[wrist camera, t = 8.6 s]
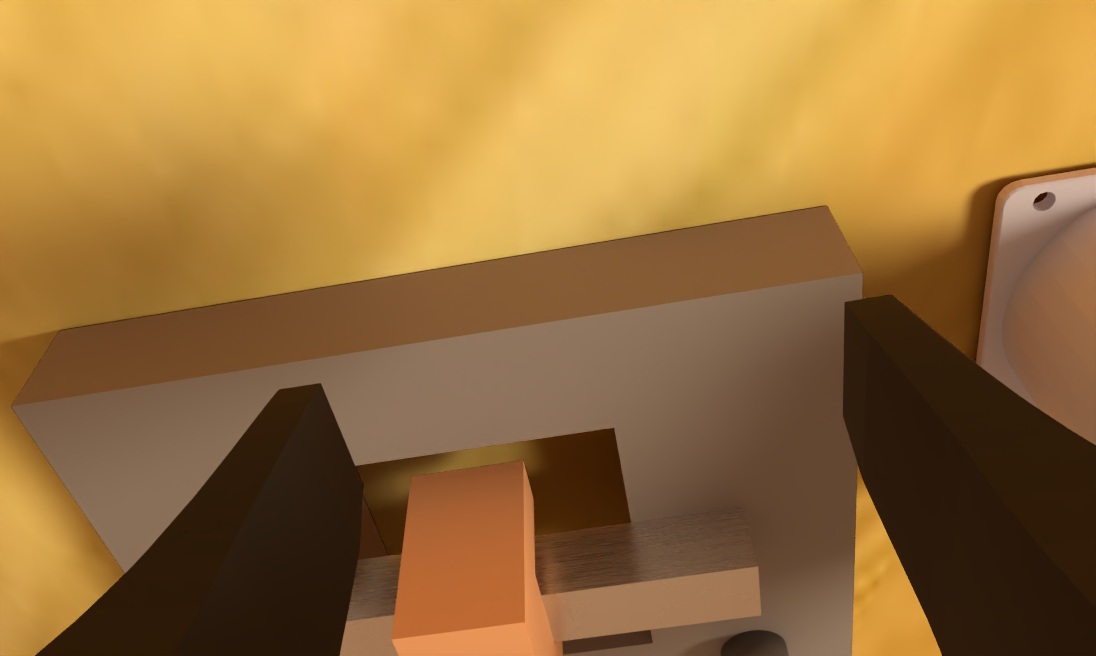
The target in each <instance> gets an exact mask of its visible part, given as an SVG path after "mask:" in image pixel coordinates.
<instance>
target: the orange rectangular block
mask: <svg viewBox="0 0 1096 656" xmlns="http://www.w3.org/2000/svg"><path fill="white" fill-rule="evenodd" d="M391 640H392V642H393V644H394V646H395V649H396V651H397V653H398V655H399V656H563V646H562V641H559V642H554V640H553V636H552V633H551V629H550V625H549V622H548V618H547V615H546V611H545V608H544V604H543V600H542V597H541V593H540V590H539V586H538V582H537V579H536V575H535V543H534V499H533V495H532V492H531V488H530V484H529V480H528V476H527V472H526V469H525V465H524V461H523V460H522V461H515V462H508V463H501V464H494V465H487V466H480V467H473V468H466V469H459V470H452V471H445V472H438V473H431V474H424V475H417V476H411V482H410V491H409V499H408V507H407V515H406V524H405V532H404V540H403V548H402V557H401V565H400V573H399V581H398V590H397V598H396V606H395V614H394V623H393V631H392V639H391Z"/></svg>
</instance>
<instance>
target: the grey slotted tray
mask: <svg viewBox="0 0 1096 656" xmlns="http://www.w3.org/2000/svg"><path fill="white" fill-rule="evenodd" d="M862 290H863V272H862V270H861V268H860V266H859V264H858V263H857V261H856V259H855V257H854V255H853V253H852V251H851V249H850V247H849V246H848V244H847V242H846V240H845V238H844V236H843V234H842V232H841V231H840V229H839V227H838V225H837V223H836V221H835V219H834V217H833V216H832V214H831V212H830V210H829V208H828V206H822V207H816V208H810V209H804V210H797V211H791V212H785V213H779V214H773V215H767V216H761V217H755V218H748V219H742V220H736V221H730V222H724V223H718V224H712V225H705V226H699V227H693V228H687V229H681V230H675V231H669V232H663V233H656V234H650V235H644V236H638V237H632V238H626V239H620V240H613V241H607V242H601V243H595V244H589V245H583V246H577V247H571V248H564V249H558V250H552V251H546V252H540V253H534V254H528V255H521V256H515V257H509V258H503V259H497V260H491V261H485V262H478V263H472V264H466V265H460V266H454V267H448V268H442V269H436V270H429V271H423V272H417V273H411V274H405V275H399V276H393V277H386V278H380V279H374V280H368V281H362V282H356V283H350V284H344V285H337V286H331V287H325V288H319V289H313V290H307V291H301V292H294V293H288V294H282V295H276V296H270V297H264V298H258V299H252V300H245V301H239V302H233V303H227V304H221V305H215V306H209V307H202V308H196V309H190V310H184V311H178V312H172V313H166V314H160V315H153V316H147V317H141V318H135V319H129V320H123V321H117V322H110V323H104V324H98V325H92V326H86V327H80V328H74V329H67V330H61V331H59V332H58V333H57V335H56V337H55V338H54V340H53V341H52V343H51V344H50V346H49V347H48V349H47V351H46V352H45V354H44V355H43V357H42V358H41V360H40V361H39V363H38V365H37V366H36V368H35V369H34V371H33V372H32V374H31V376H30V377H29V379H28V380H27V382H26V383H25V385H24V386H23V388H22V390H21V391H20V393H19V394H18V396H17V397H16V399H15V401H14V402H13V404H12V405H11V408H12V409H13V411H14V412H15V414H16V415H17V417H18V418H19V420H20V421H21V423H22V424H23V425H24V427H25V428H26V430H27V431H28V433H29V434H30V436H31V437H32V439H33V440H34V442H35V443H36V444H37V446H38V447H39V449H40V450H41V452H42V453H43V455H44V456H45V458H46V459H47V461H48V462H49V463H50V465H51V466H52V468H53V469H54V471H55V472H56V474H57V475H58V477H59V478H60V480H61V481H62V482H63V484H64V485H65V487H66V488H67V490H68V491H69V493H70V494H71V496H72V497H73V499H74V500H75V501H76V503H77V504H78V506H79V507H80V509H81V510H82V512H83V513H84V515H85V516H86V518H87V519H88V520H89V522H90V523H91V525H92V526H93V528H94V529H95V531H96V532H97V534H98V535H99V537H100V538H101V539H102V541H103V542H104V544H105V545H106V547H107V548H108V550H109V551H110V553H111V554H112V556H113V557H114V558H115V560H116V561H117V563H118V564H119V566H120V567H121V569H122V570H123V572H124V573H126V572H127V571H128V570H129V569H130V568H131V567H132V566H133V565H134V564H135V563H136V562H137V561H138V559H139V558H140V557H141V556H142V555H143V554H144V553H145V552H146V551H147V550H148V549H149V548H150V546H151V545H152V544H153V543H154V542H155V541H156V540H157V538H158V537H159V536H160V535H161V534H162V533H163V532H164V530H165V529H166V528H167V527H168V526H169V525H170V524H171V522H172V521H173V520H174V519H175V518H176V517H177V516H178V514H179V513H180V512H181V511H182V510H183V509H184V508H185V506H186V505H187V504H188V503H189V502H190V501H191V500H192V498H193V497H194V496H195V495H196V494H197V492H198V491H199V490H200V489H201V487H202V486H203V485H204V484H205V482H206V481H207V480H208V479H209V477H210V476H211V475H212V474H213V472H214V471H215V470H216V469H217V467H218V466H219V465H220V464H221V462H222V461H223V460H224V459H225V457H226V456H227V455H228V454H229V452H230V451H231V450H232V448H233V447H234V446H235V445H236V443H237V442H238V441H239V439H240V438H241V437H242V435H243V434H244V433H245V432H246V430H247V429H248V428H249V426H250V425H251V424H252V422H253V421H254V420H255V419H256V417H257V416H258V415H259V413H260V412H261V411H262V410H263V408H264V407H265V406H266V404H267V403H268V402H269V401H270V399H271V398H272V397H273V396H274V395H275V393H276V392H277V391H278V390H279V389H285V388H291V387H297V386H304V385H310V384H317V383H321V385H322V387H323V389H324V392H325V394H326V397H327V399H328V401H329V404H330V406H331V409H332V411H333V413H334V416H335V418H336V421H337V423H338V426H339V428H340V430H341V433H342V435H343V438H344V440H345V442H346V445H347V447H348V450H349V452H350V454H351V457H352V459H353V462H354V464H355V466H357V465H364V464H371V463H378V462H384V461H391V460H398V459H405V458H412V457H418V456H425V455H432V454H439V453H446V452H452V451H459V450H466V449H473V448H480V447H486V446H493V445H500V444H507V443H514V442H520V441H527V440H534V439H541V438H548V437H554V436H561V435H568V434H575V433H582V432H588V431H595V430H602V429H609V428H614V430H615V435H616V441H617V446H618V452H619V458H620V463H621V469H622V474H623V480H624V485H625V491H626V497H627V502H628V508H629V513H630V519H631V522H629V523H621V524H614V525H607V526H600V527H593V528H585V529H578V530H571V531H564V532H557V533H549V534H542V535H535V536H534V543H535V575H536V579H537V582H538V586H539V590H540V593H541V597H542V600H543V604H544V608H545V611H546V615H547V618H548V622H549V625H550V629H551V633H552V636H553V640H554V642H559V641H562V646H563V656H852V632H853V598H854V564H855V529H856V495H857V460H856V457H855V454H854V451H853V448H852V444H851V441H850V438H849V434H848V431H847V428H846V425H845V421H844V418H843V367H844V303H845V302H847V301H853V300H860V299H862ZM401 557H402V554H398V555H391V556H388V554H387V552H386V549H385V547H384V544H383V542H382V540H381V537H380V535H379V533H378V530H377V528H376V525H375V523H374V521H373V518H372V516H371V513H370V511H369V509H368V506H367V504H366V502H365V499H364V497H363V503H362V524H361V538H360V551H359V557H358V563H357V568H356V574H355V579H354V584H353V589H352V595H351V600H350V605H349V610H348V615H347V620H346V625H345V630H344V636H343V641H342V646H341V651H340V656H399V655H398V653H397V651H396V649H395V646H394V644H393V642H392V640H391V639H392V631H393V623H394V614H395V606H396V598H397V590H398V581H399V573H400V565H401Z"/></svg>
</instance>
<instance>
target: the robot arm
mask: <svg viewBox="0 0 1096 656" xmlns="http://www.w3.org/2000/svg"><path fill="white" fill-rule="evenodd" d="M1044 192H1048V194H1047V196H1046V197H1045V198H1044V199H1043V200H1042V201H1040V202H1038V203H1033V202H1034V200H1035V198H1036V197H1037V196H1038V195H1039V194H1042V193H1044ZM843 418H844V421H845V425H846V428H847V431H848V434H849V438H850V441H851V444H852V448H853V451H854V454H855V457H856V460H857V463H858V466H859V469H860V472H861V475H862V479H863V481H864V483H865V486H866V488H867V490H868V492H869V495H870V497H871V499H872V501H873V503H874V505H875V508H876V510H877V512H878V514H879V516H880V519H881V521H882V523H883V525H884V527H885V529H886V532H887V534H888V536H889V538H890V540H891V542H892V544H893V547H894V549H895V551H896V553H897V555H898V557H899V559H900V562H901V564H902V566H903V568H904V570H905V572H906V574H907V576H908V579H909V581H910V583H911V585H912V587H913V589H914V591H915V594H916V596H917V598H918V600H919V602H920V604H921V606H922V609H923V611H924V613H925V615H926V617H927V619H928V622H929V624H930V627H931V629H932V631H933V634H934V636H935V639H936V641H937V643H938V646H939V648H940V651H941V654H942V656H1096V168H1090V169H1083V170H1077V171H1071V172H1065V173H1059V174H1053V175H1047V176H1040V177H1034V178H1028V179H1022V180H1018V181H1014V182H1011V183H1010V184H1008V185H1007V186H1005V187H1004V188H1003V189H1002V190H1001V191H1000V193H999V194H998V196H997V199H996V203H995V211H994V219H993V227H992V236H991V244H990V252H989V260H988V268H987V276H986V284H985V293H984V301H983V309H982V317H981V325H980V333H979V341H978V350H977V358H976V363H975V362H974V361H973V360H971V359H970V358H969V357H967V356H966V355H965V354H964V353H962V352H961V351H960V350H959V349H957V348H956V347H955V346H954V345H952V344H951V343H950V342H949V341H947V340H946V339H945V338H944V337H943V336H941V335H940V334H939V333H938V332H936V331H935V330H934V329H933V328H932V327H930V326H929V325H928V324H927V323H926V322H924V321H923V320H922V319H921V318H920V317H918V316H917V315H916V314H915V313H913V312H912V311H911V310H910V309H909V308H907V307H906V306H905V305H904V304H902V303H901V302H900V301H899V300H897V299H896V298H895V297H894V296H892V295H886V296H879V297H873V298H866V299H860V300H853V301H847V302H845V303H844V367H843ZM362 503H363V483H362V481H361V479H360V476H359V474H358V471H357V469H356V466H355V464H354V462H353V459H352V457H351V454H350V452H349V450H348V447H347V445H346V442H345V440H344V438H343V435H342V433H341V430H340V428H339V426H338V423H337V421H336V418H335V416H334V413H333V411H332V409H331V406H330V404H329V401H328V399H327V397H326V394H325V392H324V389H323V387H322V385H321V383H317V384H310V385H304V386H297V387H291V388H285V389H279V390H278V391H277V392H276V393H275V395H274V396H273V397H272V398H271V399H270V401H269V402H268V403H267V404H266V406H265V407H264V408H263V410H262V411H261V412H260V413H259V415H258V416H257V417H256V419H255V420H254V421H253V422H252V424H251V425H250V426H249V428H248V429H247V430H246V432H245V433H244V434H243V435H242V437H241V438H240V439H239V441H238V442H237V443H236V445H235V446H234V447H233V448H232V450H231V451H230V452H229V454H228V455H227V456H226V457H225V459H224V460H223V461H222V462H221V464H220V465H219V466H218V467H217V469H216V470H215V471H214V472H213V474H212V475H211V476H210V477H209V479H208V480H207V481H206V482H205V484H204V485H203V486H202V487H201V489H200V490H199V491H198V492H197V494H196V495H195V496H194V497H193V498H192V500H191V501H190V502H189V503H188V504H187V505H186V506H185V508H184V509H183V510H182V511H181V512H180V513H179V514H178V516H177V517H176V518H175V519H174V520H173V521H172V522H171V524H170V525H169V526H168V527H167V528H166V529H165V530H164V532H163V533H162V534H161V535H160V536H159V537H158V538H157V540H156V541H155V542H154V543H153V544H152V545H151V546H150V548H149V549H148V550H147V551H146V552H145V553H144V554H143V555H142V556H141V557H140V558H139V559H138V561H137V562H136V563H135V564H134V565H133V566H132V567H131V568H130V569H129V570H128V571H127V572H126V573H125V574H124V575H123V576H122V577H121V578H120V579H119V580H118V581H117V582H116V583H115V584H114V585H113V586H112V587H111V588H110V589H109V590H108V591H107V592H106V593H105V594H104V595H103V596H102V597H101V598H100V599H98V600H97V601H96V602H95V603H94V604H93V605H92V606H91V607H90V608H89V609H88V610H87V611H86V612H85V613H84V614H83V615H82V616H81V617H79V618H78V619H77V620H76V621H75V622H74V623H73V624H72V625H70V626H69V627H68V628H67V629H66V630H65V631H63V632H62V633H61V634H60V635H59V636H58V637H56V638H55V639H54V640H53V641H52V642H50V643H49V644H48V645H47V646H46V647H45V648H43V649H42V650H41V651H40V652H39V653H38V654H36V655H35V656H340V651H341V646H342V641H343V636H344V630H345V625H346V620H347V615H348V610H349V605H350V600H351V595H352V589H353V584H354V579H355V574H356V568H357V563H358V557H359V551H360V538H361V524H362Z"/></svg>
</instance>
